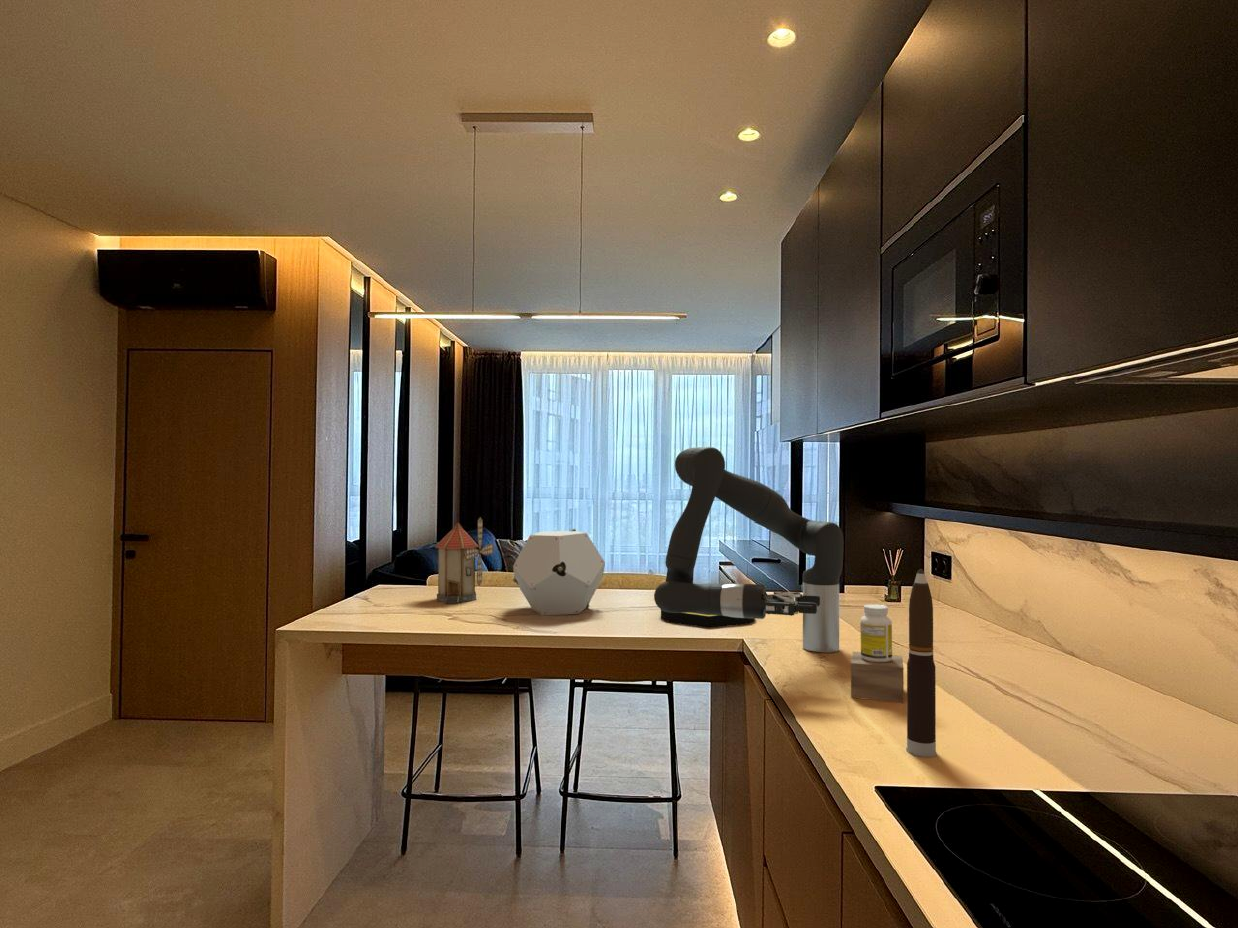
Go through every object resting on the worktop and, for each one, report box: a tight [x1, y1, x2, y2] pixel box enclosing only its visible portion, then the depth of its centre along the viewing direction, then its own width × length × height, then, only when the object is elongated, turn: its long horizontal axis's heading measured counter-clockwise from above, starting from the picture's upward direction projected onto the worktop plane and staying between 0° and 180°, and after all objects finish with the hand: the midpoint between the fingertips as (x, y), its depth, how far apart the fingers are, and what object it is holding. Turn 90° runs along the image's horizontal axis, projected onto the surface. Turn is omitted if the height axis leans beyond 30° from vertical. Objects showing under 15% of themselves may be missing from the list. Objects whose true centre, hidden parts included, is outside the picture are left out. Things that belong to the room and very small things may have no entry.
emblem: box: [660, 609, 756, 629], centre depth 226 cm, size 30×4×30 cm
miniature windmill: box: [434, 516, 495, 605], centre depth 257 cm, size 24×20×30 cm
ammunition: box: [906, 568, 937, 758], centre depth 117 cm, size 5×5×30 cm
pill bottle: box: [859, 604, 893, 663], centre depth 149 cm, size 6×6×11 cm
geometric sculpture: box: [512, 528, 606, 616], centre depth 238 cm, size 30×30×30 cm
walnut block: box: [850, 651, 905, 704], centre depth 149 cm, size 10×10×7 cm
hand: (818, 604), depth 154 cm, fingers open, 8 cm apart
